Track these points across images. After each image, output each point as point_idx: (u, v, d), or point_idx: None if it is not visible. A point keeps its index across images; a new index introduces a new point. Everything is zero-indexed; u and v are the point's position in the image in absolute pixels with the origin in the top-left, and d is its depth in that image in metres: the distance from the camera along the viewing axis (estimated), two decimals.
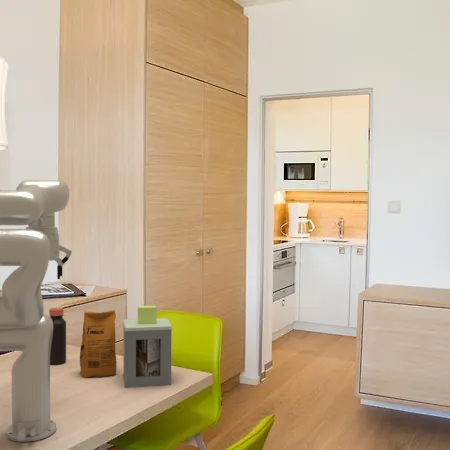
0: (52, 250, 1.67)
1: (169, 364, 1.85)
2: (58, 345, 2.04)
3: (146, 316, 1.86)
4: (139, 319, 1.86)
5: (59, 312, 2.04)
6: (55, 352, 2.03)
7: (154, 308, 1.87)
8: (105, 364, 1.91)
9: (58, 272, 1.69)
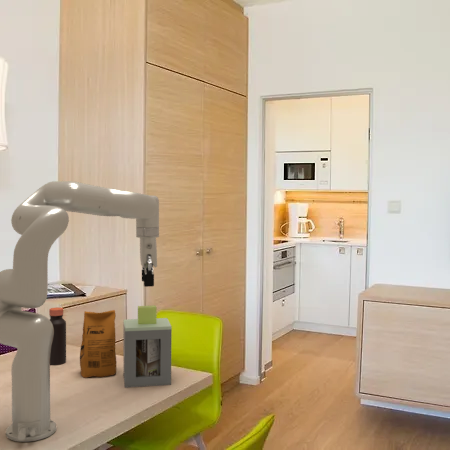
0: None
1: (169, 364, 1.85)
2: (58, 345, 2.04)
3: (146, 316, 1.86)
4: (139, 319, 1.86)
5: (59, 312, 2.04)
6: (55, 352, 2.03)
7: (154, 308, 1.87)
8: (105, 364, 1.91)
9: None
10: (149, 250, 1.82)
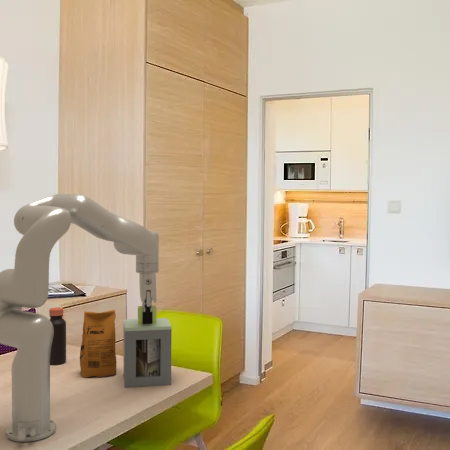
0: None
1: (169, 364, 1.85)
2: (58, 345, 2.04)
3: None
4: (139, 319, 1.86)
5: (59, 312, 2.04)
6: (55, 352, 2.03)
7: (154, 308, 1.87)
8: (105, 364, 1.91)
9: None
10: (149, 286, 1.82)
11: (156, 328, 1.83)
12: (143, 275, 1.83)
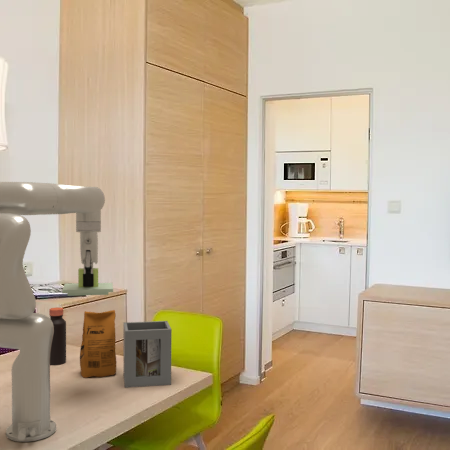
0: None
1: (169, 364, 1.85)
2: (58, 345, 2.04)
3: None
4: (79, 282, 1.74)
5: (59, 312, 2.04)
6: (55, 352, 2.03)
7: (95, 270, 1.75)
8: (105, 364, 1.91)
9: None
10: (88, 245, 1.71)
11: (96, 290, 1.71)
12: (82, 234, 1.71)
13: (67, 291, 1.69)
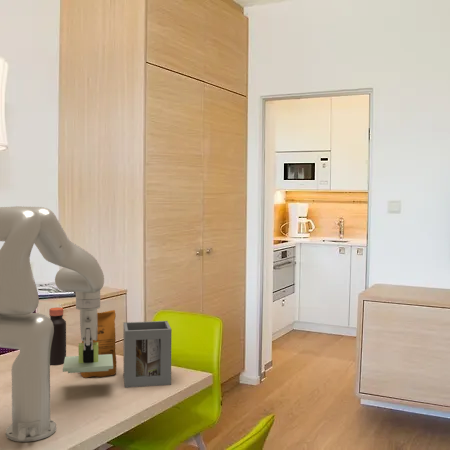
0: None
1: (169, 364, 1.85)
2: (58, 345, 2.04)
3: None
4: (79, 357, 1.76)
5: (59, 312, 2.04)
6: (55, 352, 2.03)
7: (95, 346, 1.77)
8: None
9: None
10: (88, 323, 1.72)
11: (96, 368, 1.73)
12: (82, 312, 1.72)
13: (67, 369, 1.71)
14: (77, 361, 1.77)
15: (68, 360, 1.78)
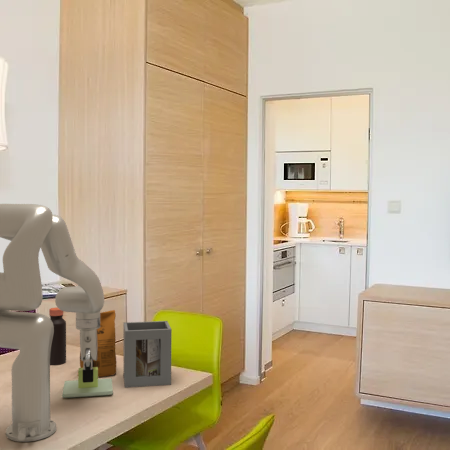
0: None
1: (169, 364, 1.85)
2: (58, 345, 2.04)
3: None
4: (79, 383, 1.76)
5: (59, 312, 2.04)
6: (55, 352, 2.03)
7: (95, 371, 1.77)
8: (105, 364, 1.91)
9: (93, 366, 1.82)
10: (88, 343, 1.73)
11: (96, 393, 1.73)
12: (82, 332, 1.73)
13: (67, 395, 1.71)
14: (77, 386, 1.78)
15: (68, 385, 1.79)
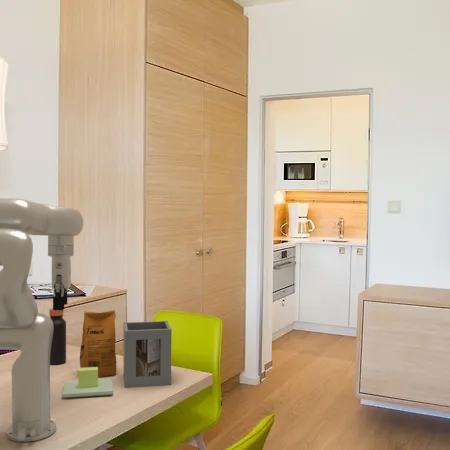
0: None
1: (169, 364, 1.85)
2: (58, 345, 2.04)
3: (87, 379, 1.77)
4: (79, 383, 1.76)
5: (59, 312, 2.04)
6: (55, 352, 2.03)
7: (95, 371, 1.77)
8: (105, 364, 1.91)
9: None
10: (59, 270, 1.66)
11: (96, 393, 1.73)
12: (53, 258, 1.67)
13: (67, 395, 1.71)
14: (77, 386, 1.78)
15: (68, 385, 1.79)
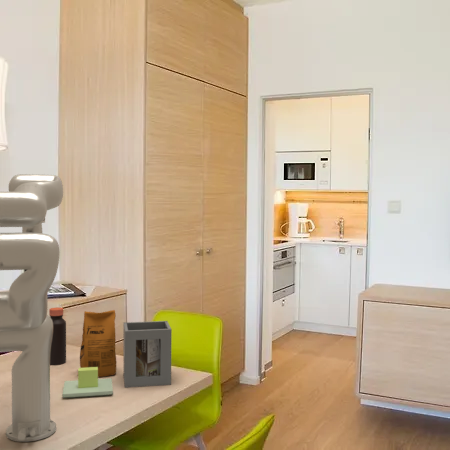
0: None
1: (169, 364, 1.85)
2: (58, 345, 2.04)
3: (87, 379, 1.77)
4: (79, 383, 1.76)
5: (59, 312, 2.04)
6: (55, 352, 2.03)
7: (95, 371, 1.77)
8: (105, 364, 1.91)
9: None
10: None
11: (96, 393, 1.73)
12: None
13: (67, 395, 1.71)
14: (77, 386, 1.78)
15: (68, 385, 1.79)
